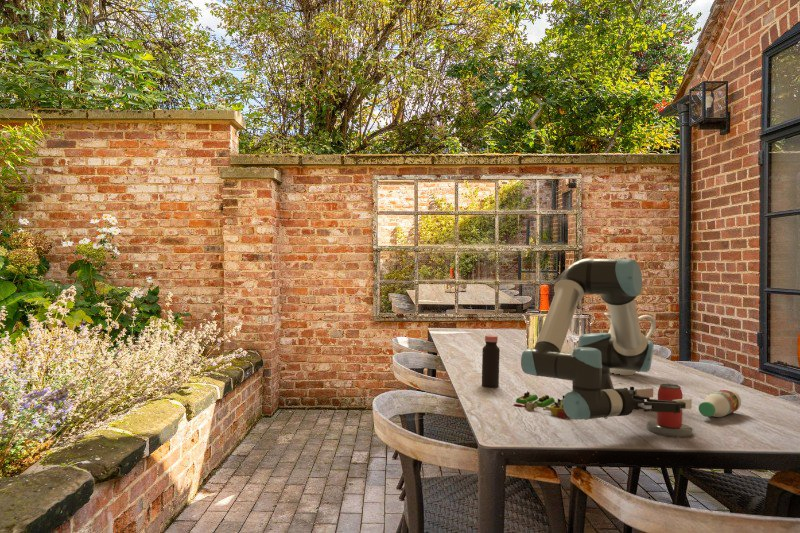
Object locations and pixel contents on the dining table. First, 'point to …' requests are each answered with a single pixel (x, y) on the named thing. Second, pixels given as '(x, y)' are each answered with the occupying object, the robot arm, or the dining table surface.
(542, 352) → the robot arm
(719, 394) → the milk bottle
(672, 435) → the pad
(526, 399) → the toy garden set
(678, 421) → the beer can
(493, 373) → the vinegar
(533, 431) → the dining table surface
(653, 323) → the pitcher
